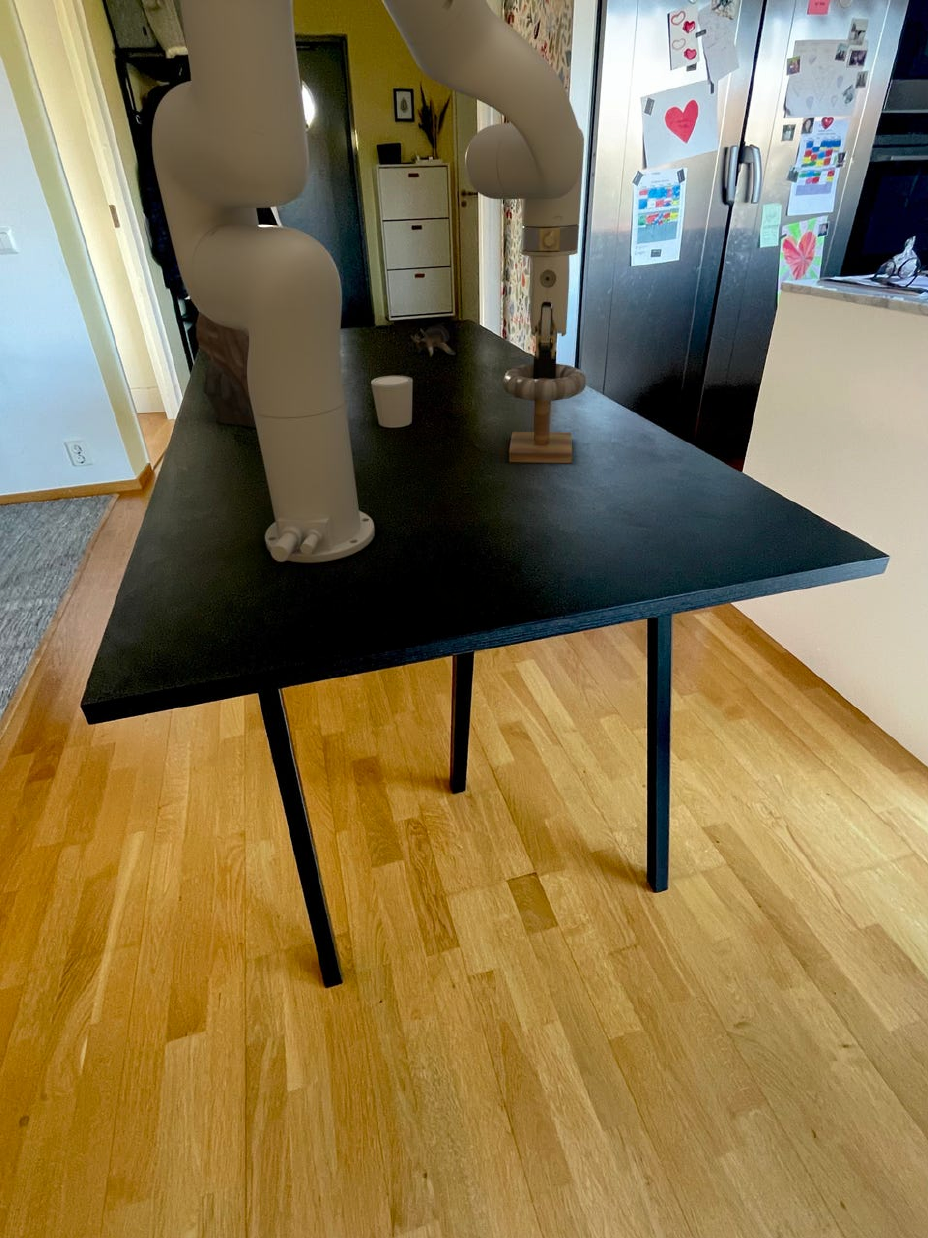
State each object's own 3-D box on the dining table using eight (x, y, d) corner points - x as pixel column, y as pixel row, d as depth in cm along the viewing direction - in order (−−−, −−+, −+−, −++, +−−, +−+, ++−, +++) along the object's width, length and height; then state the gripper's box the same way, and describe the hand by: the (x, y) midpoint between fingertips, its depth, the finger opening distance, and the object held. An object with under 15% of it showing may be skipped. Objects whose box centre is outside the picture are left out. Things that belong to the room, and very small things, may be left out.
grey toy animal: (411, 353, 150) (449, 346, 148) (409, 322, 150) (446, 314, 148) (422, 365, 158) (458, 358, 155) (419, 335, 158) (456, 328, 155)
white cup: (409, 429, 110) (406, 386, 106) (369, 427, 111) (365, 385, 107) (419, 416, 115) (417, 375, 111) (382, 415, 116) (378, 374, 113)
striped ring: (585, 403, 89) (587, 382, 88) (499, 403, 91) (499, 382, 89) (584, 380, 99) (585, 361, 97) (506, 380, 100) (506, 360, 99)
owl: (208, 422, 116) (177, 296, 104) (253, 402, 125) (229, 284, 114) (268, 429, 111) (242, 299, 100) (309, 408, 121) (291, 286, 110)
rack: (571, 463, 95) (576, 388, 90) (509, 462, 96) (510, 388, 91) (570, 441, 103) (575, 371, 97) (512, 441, 104) (513, 371, 98)
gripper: (579, 246, 81) (570, 399, 91) (576, 234, 94) (568, 368, 105) (518, 248, 82) (515, 399, 92) (524, 236, 95) (521, 368, 105)
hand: (544, 381), depth 98 cm, fingers closed on striped ring, 3 cm apart
